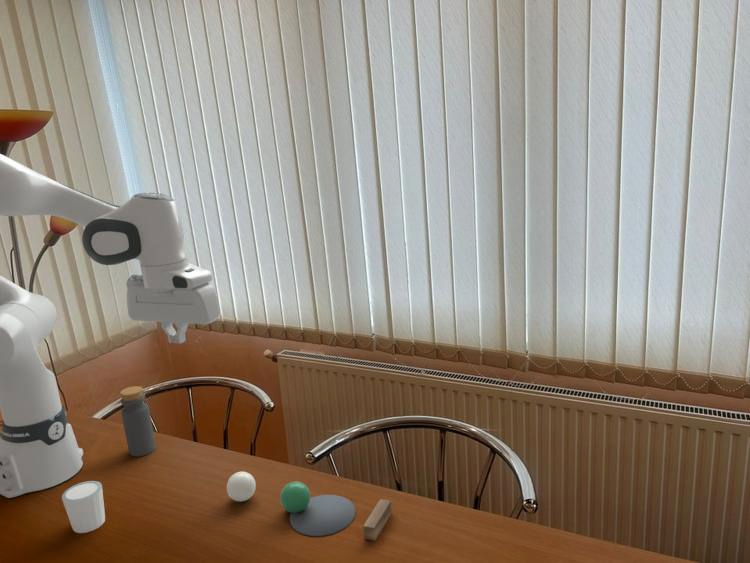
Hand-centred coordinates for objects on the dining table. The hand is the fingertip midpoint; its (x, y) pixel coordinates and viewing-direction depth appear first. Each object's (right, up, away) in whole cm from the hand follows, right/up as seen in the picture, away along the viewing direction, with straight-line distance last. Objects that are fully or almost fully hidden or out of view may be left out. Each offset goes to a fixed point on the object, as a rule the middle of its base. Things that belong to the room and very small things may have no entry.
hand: (177, 342), depth 123 cm
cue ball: (+14, -27, -5) cm, 31 cm away
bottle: (-14, -27, +18) cm, 35 cm away
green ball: (+25, -28, -10) cm, 39 cm away
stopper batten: (+40, -31, -16) cm, 53 cm away
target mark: (+30, -31, -11) cm, 44 cm away
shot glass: (-14, -34, -8) cm, 37 cm away
